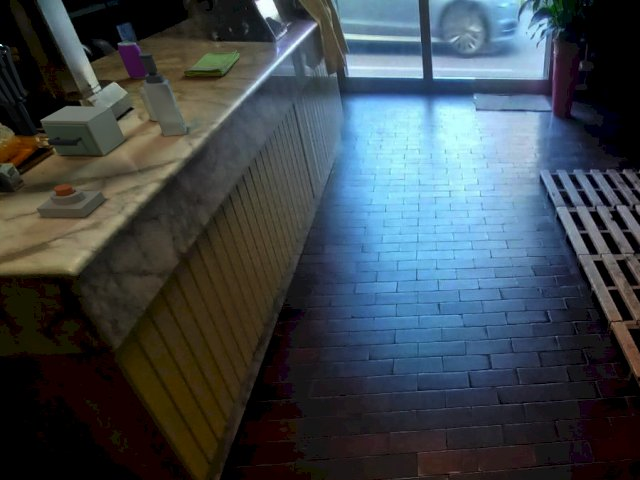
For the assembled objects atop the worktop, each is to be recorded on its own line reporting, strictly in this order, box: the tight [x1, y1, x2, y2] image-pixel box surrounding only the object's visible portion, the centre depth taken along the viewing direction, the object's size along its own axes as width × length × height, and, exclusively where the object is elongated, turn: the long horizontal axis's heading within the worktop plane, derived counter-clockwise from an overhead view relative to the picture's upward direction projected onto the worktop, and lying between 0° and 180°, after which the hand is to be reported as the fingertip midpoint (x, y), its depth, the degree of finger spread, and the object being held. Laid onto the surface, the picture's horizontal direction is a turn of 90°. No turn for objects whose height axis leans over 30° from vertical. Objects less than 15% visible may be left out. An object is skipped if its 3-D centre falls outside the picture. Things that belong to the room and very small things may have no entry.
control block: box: [36, 186, 106, 218], centre depth 126 cm, size 10×10×4 cm
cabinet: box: [39, 105, 126, 157], centre depth 153 cm, size 14×13×10 cm
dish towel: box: [183, 50, 241, 78], centre depth 228 cm, size 15×36×3 cm, turn 9°
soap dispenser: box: [139, 52, 187, 137], centre depth 162 cm, size 6×9×22 cm
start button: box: [53, 183, 75, 196], centre depth 125 cm, size 4×4×2 cm
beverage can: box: [117, 41, 148, 80], centre depth 209 cm, size 8×8×12 cm
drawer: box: [41, 124, 100, 155], centre depth 151 cm, size 17×11×8 cm
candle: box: [138, 85, 158, 122], centre depth 174 cm, size 6×6×10 cm
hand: (30, 134), depth 120 cm, fingers closed
